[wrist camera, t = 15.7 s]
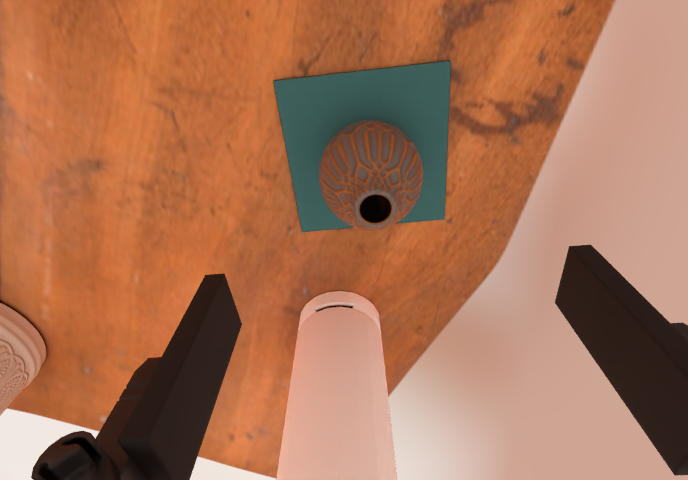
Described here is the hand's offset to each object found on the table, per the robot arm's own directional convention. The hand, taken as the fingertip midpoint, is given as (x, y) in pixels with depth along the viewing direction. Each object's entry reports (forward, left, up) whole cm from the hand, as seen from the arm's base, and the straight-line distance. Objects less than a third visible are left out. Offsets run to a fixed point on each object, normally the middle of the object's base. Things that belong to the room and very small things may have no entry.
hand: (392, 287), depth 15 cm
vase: (0, 0, -16) cm, 16 cm away
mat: (0, 0, -16) cm, 16 cm away
